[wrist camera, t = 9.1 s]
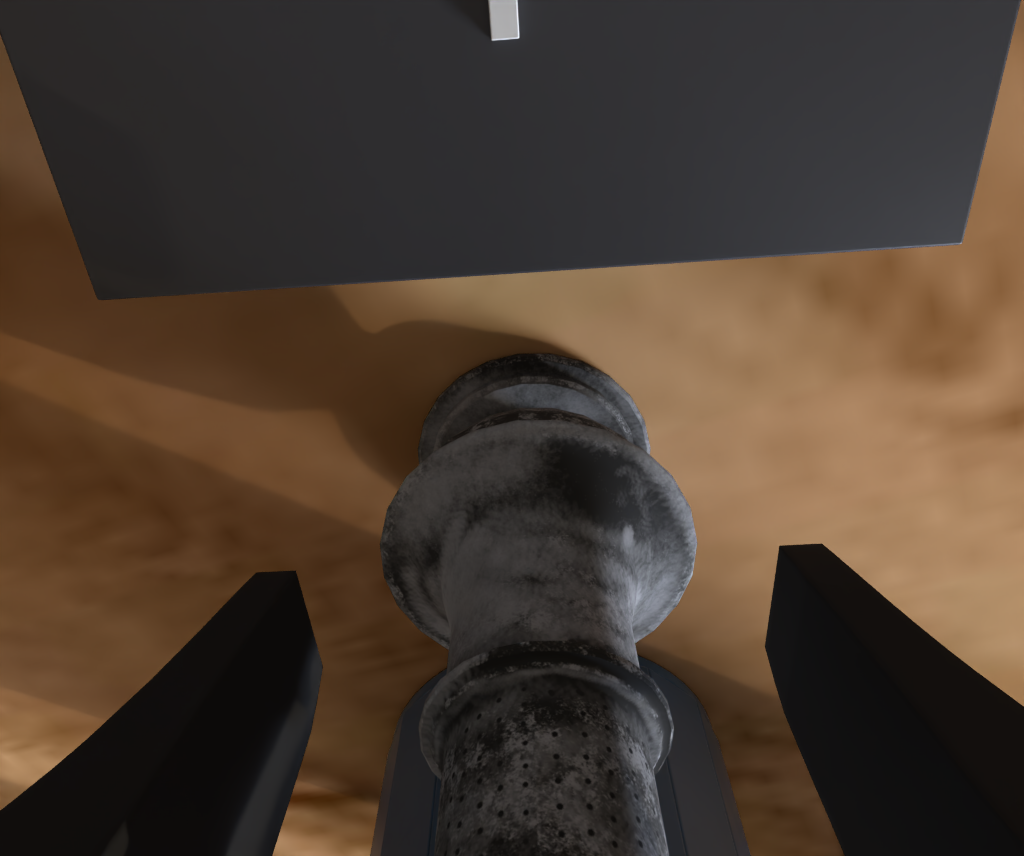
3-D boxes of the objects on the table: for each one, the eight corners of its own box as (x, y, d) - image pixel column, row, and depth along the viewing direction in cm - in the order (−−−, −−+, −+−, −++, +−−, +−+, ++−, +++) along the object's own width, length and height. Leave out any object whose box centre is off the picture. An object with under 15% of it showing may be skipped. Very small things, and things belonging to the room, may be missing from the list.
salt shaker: (432, 571, 18) (320, 1318, 8) (378, 359, 15) (82, 1091, 5) (667, 545, 18) (887, 1300, 7) (657, 322, 15) (999, 1040, 4)
